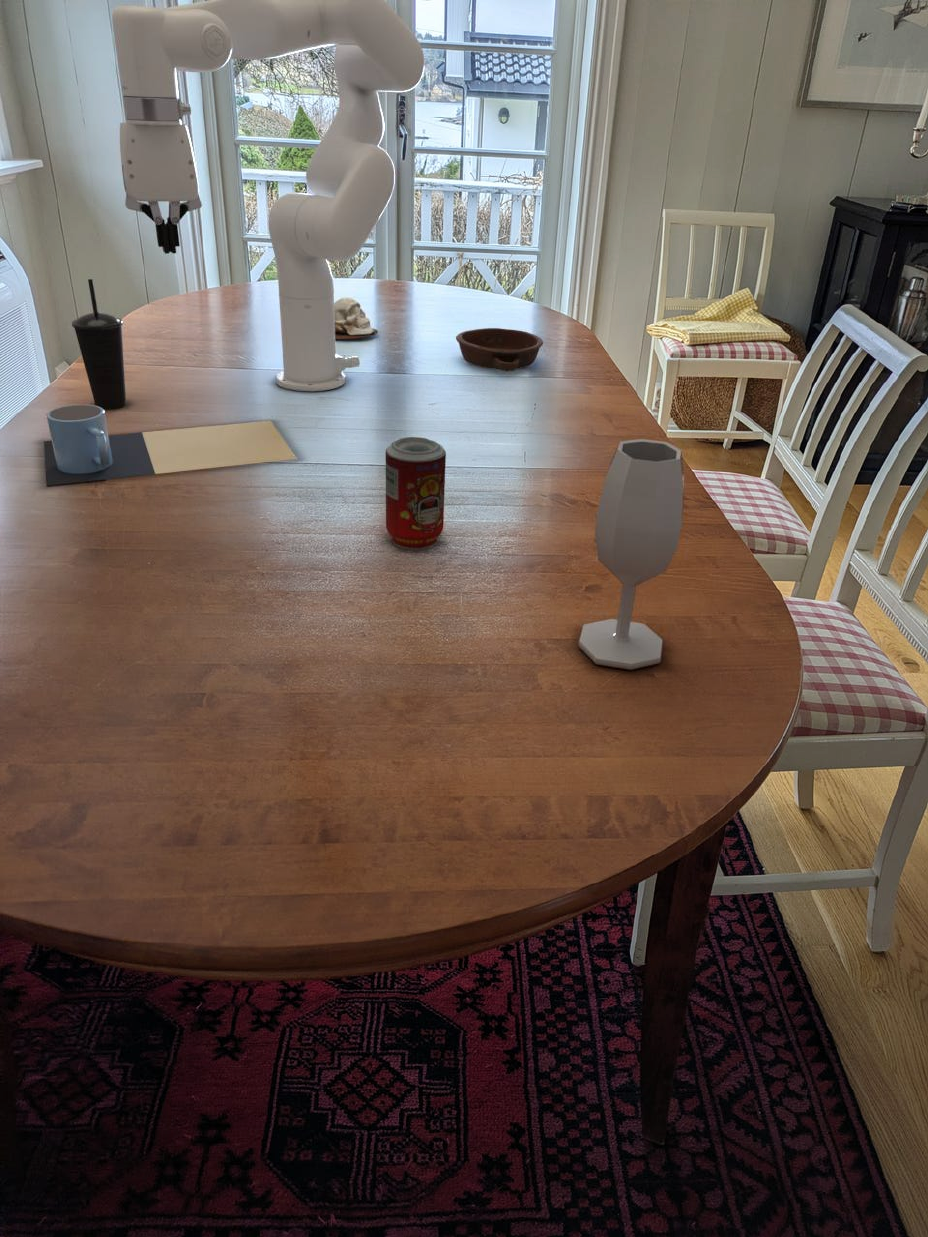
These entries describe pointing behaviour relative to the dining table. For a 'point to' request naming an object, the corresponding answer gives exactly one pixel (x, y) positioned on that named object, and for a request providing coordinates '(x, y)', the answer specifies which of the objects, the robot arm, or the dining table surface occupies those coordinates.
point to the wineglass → (635, 544)
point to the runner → (180, 451)
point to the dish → (499, 348)
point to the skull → (351, 320)
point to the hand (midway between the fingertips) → (169, 251)
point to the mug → (80, 438)
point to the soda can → (415, 492)
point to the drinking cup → (102, 355)
